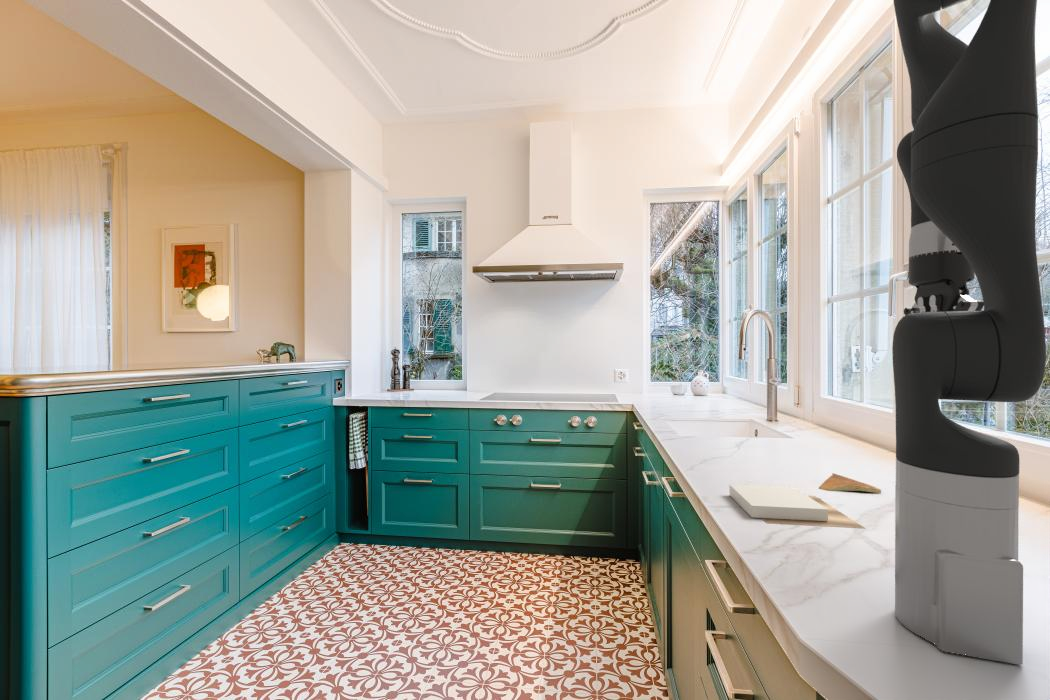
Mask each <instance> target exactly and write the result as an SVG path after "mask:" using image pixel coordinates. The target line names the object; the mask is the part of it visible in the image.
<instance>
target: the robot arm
mask: <svg viewBox="0 0 1050 700" xmlns="http://www.w3.org/2000/svg"><path fill="white" fill-rule="evenodd" d="M963 2H967V0H893V5H894V6H893V7H894V13H895V18H896V23H897V28H898V33H899V34H898V35H899V39H900V43H901V47H902V51H903V57H904V62H905V64H906V68H907V72H908V78H909V82H910V83H909V84H910V103H911V104H910V106H911V107H910V110H911V113H910V115H911V116H910V119H911V125H912V130H911V131H909V132H907V133H906V134H905V135H904V136H903V137H902V139H901V140H900V142H899V143H898V146H897V149H896V160H897V163H898V166H899V168H900V171H901V173H902V175H903V178H904V181H905V182H906V183H905V184H906V185H907V186H906V187H907V189H908V193H909V198H910V234H909V240H908V284H909V286H913V287H916V292H915V294H914V302H915V303H914V304H913V305H912V306H911V307H905V308H904V309H903V314H904V316H902V317H901V318H900V319H899V321H898V323H896V326H895V328H894V332H893V336H892V338H893V339H892V368H893V383H894V397H895V398H894V402H895V403H894V404H895V503H894V505H895V507H894V508H895V510H894V511H895V512H894V514H895V515H894V517H895V518H894V523H895V524H894V531H895V533H894V536H895V537H894V614H895V617H896V618H897V620H898V621H899V622H900V623H901V624H902V625H903V626H904V627H905V628H906V629H908V630H909V631H911V632H912V633H914V634H915V635H917V636H918V635H919V636H918V637H920V636H921V637H920V638H922V637H923V638H922V639H924V638H925V639H924V640H926V641H928V640H929V641H928V642H930V641H931V642H933V643H935V644H936V645H937V646H938V647H939V648H940V649H941V650H942V651H941V650H940V649H939V648H938V647H937V646H936V645H935V644H934V645H935V646H936V647H937V648H938V649H939V650H940V651H941V652H943V651H946V652H945V653H948V652H954V653H958V654H957V655H959V654H964V655H963V656H965V654H966V655H969V656H968V657H971V656H972V658H977V657H978V658H979V659H982V660H983V659H985V660H990V661H996V662H1002V663H1006V664H1014V665H1018V666H1019V665H1020V666H1023V662H1024V661H1023V659H1024V655H1023V653H1024V648H1023V647H1024V644H1023V643H1024V566H1023V563H1021V562H1020V561H1019V506H1020V505H1019V504H1020V499H1019V497H1020V493H1019V492H1020V453H1019V450H1018V449H1017V447H1016V446H1015V445H1014V444H1012V443H1010V442H1009V441H1007V440H1004V439H1001V438H998V437H996V436H992V435H990V434H985V433H983V432H980V431H976V430H973V429H971V428H969V427H965V426H963V425H961V424H959V423H958V422H955V421H954V420H952V419H950V418H949V417H947V416H945V415H944V413H943V412H942V410H941V407H940V402H939V400H947V401H949V400H951V401H953V400H954V401H970V402H971V401H972V402H973V401H974V402H991V403H992V402H996V403H998V402H999V403H1017V402H1018V403H1021V402H1026V401H1028V400H1030V399H1031V398H1033V397H1034V396H1035V395H1036V394H1037V393H1038V391H1039V389H1040V387H1041V386H1042V383H1043V381H1044V375H1045V372H1046V363H1047V344H1046V332H1045V330H1046V329H1045V320H1044V311H1043V303H1042V293H1041V285H1040V284H1041V283H1040V276H1039V265H1038V257H1037V255H1038V254H1037V244H1036V241H1037V240H1036V238H1037V237H1036V235H1037V234H1036V209H1037V207H1036V205H1037V203H1036V202H1037V200H1036V199H1037V179H1038V178H1037V177H1038V159H1039V158H1038V157H1039V113H1038V112H1039V107H1038V88H1037V70H1036V69H1037V66H1036V18H1037V7H1038V5H1037V3H1038V0H990V1H989V4H988V5H987V9H986V10H985V11H986V12H985V13H984V15H983V18H982V20H981V21H980V23H979V26H978V28H977V29H976V31H975V33H974V35H973V37H972V39H971V40H970V42H969V43H968V44H967V43H966V42H964V41H962V39H960V38H958V37H956V35H953V33H952V34H951V33H950V32H949V31H948V30H946V29H945V28H944V27H943V26H942V25H941V24H940V23H939V22H938V21H937V19H936V18H935V15H934V14H933V13H936V12H938V11H939V12H940V10H941V9H942V10H945V9H947V8H949V7H952V6H955V5H958V4H961V3H963ZM975 277H976V280H977V283H978V286H979V288H980V293H981V297H982V300H974V299H973V298H972V297H971V296H970V289H969V288H968V285H967V283H971V282H973V280H975ZM931 642H930V643H931ZM933 643H932V644H933ZM954 653H953V654H954Z"/></svg>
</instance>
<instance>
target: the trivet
mask: <svg viewBox="0 0 1050 700" xmlns="http://www.w3.org/2000/svg"><path fill="white" fill-rule="evenodd" d="M807 496H808V497H810V498H811V499H813V500H815V501H816V502H818V503H819V504H821V505H822V506H824V507H825V508H827V509H828V521H813V520H793V519H774V518H761V519H762V521H764V522H765V523H766V524H776V525H792V526H810V527H812V526H813V527H815V526H816V527H831V528H832V527H833V528H848V529H850V528H851V529H865V527H864V526H862V525H861V524H860V523H858V522H856V520H854V519H852V518H850V517H848V516H847V515H845V514H844V513H842V511H839V510H838V509H836V508H834V507H833V506H832V505H830V504H828V503H827V502H825V501H824V500H822V499H821V498H819V497H817V496H816V495H807Z"/></svg>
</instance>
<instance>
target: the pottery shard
mask: <svg viewBox="0 0 1050 700" xmlns="http://www.w3.org/2000/svg"><path fill="white" fill-rule="evenodd" d="M818 489H821V490H823V491H827V492H839V491H841V492H844V491H845V492H864V493H866V492H867V493H873V494H880V495H881V494H882V489H881V488H878V487H876V486H873V485H870V484H868V483H865V482H861V481H858V480H856V479H852V478H849V477H847V476H843V475H840V474H837V473H832V475H830V476H829V477H828V478H826V479H825V480H824V482H822V483H821V485H820V486H818Z"/></svg>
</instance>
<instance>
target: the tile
mask: <svg viewBox="0 0 1050 700" xmlns="http://www.w3.org/2000/svg"><path fill="white" fill-rule="evenodd" d="M729 496H730V497H731V498H732V499H733V500H734V501H735V502H736V503H737V504H738V505H739V506H740V507H741V508H742V509H743V510H744V511H745V512H746V513H747V514H748V515H749V516H750V517H751V518H756V519H762V518H774V519H793V520H813V521H828V509H827V508H825V507H824V506H822V505H821V504H819V503H818V502H816V501H815V500H813V499H811V498H810V497H808V496H809V495H807V494H805V492H802V491H801V490H799V489H798V488H796V487H794V486H792V487H790V486H776V485H775V486H773V485H771V486H768V485H748V484H744V485H743V484H729Z"/></svg>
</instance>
